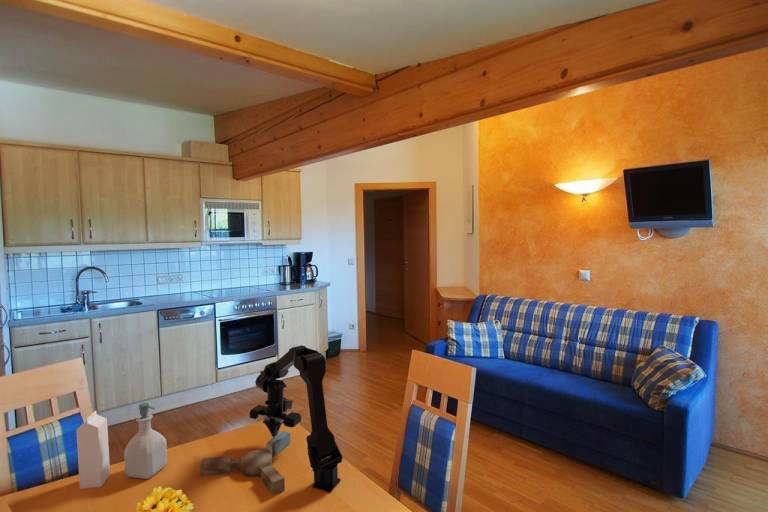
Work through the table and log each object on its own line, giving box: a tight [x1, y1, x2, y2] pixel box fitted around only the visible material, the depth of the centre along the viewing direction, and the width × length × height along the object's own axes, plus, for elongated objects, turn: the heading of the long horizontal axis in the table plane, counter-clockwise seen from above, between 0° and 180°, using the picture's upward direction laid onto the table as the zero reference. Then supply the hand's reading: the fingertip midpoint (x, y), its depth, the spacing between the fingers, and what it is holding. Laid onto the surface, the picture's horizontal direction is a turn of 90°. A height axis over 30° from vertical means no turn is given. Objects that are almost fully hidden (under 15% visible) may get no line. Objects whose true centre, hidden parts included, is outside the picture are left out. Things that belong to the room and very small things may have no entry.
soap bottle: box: [123, 402, 168, 480], centre depth 133 cm, size 10×10×23 cm
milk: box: [75, 410, 111, 490], centre depth 128 cm, size 6×6×22 cm
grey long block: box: [265, 430, 291, 457], centre depth 146 cm, size 11×4×4 cm, turn 158°
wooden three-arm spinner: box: [199, 448, 286, 496], centre depth 133 cm, size 31×16×4 cm, turn 68°
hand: (274, 438), depth 150 cm, fingers closed
